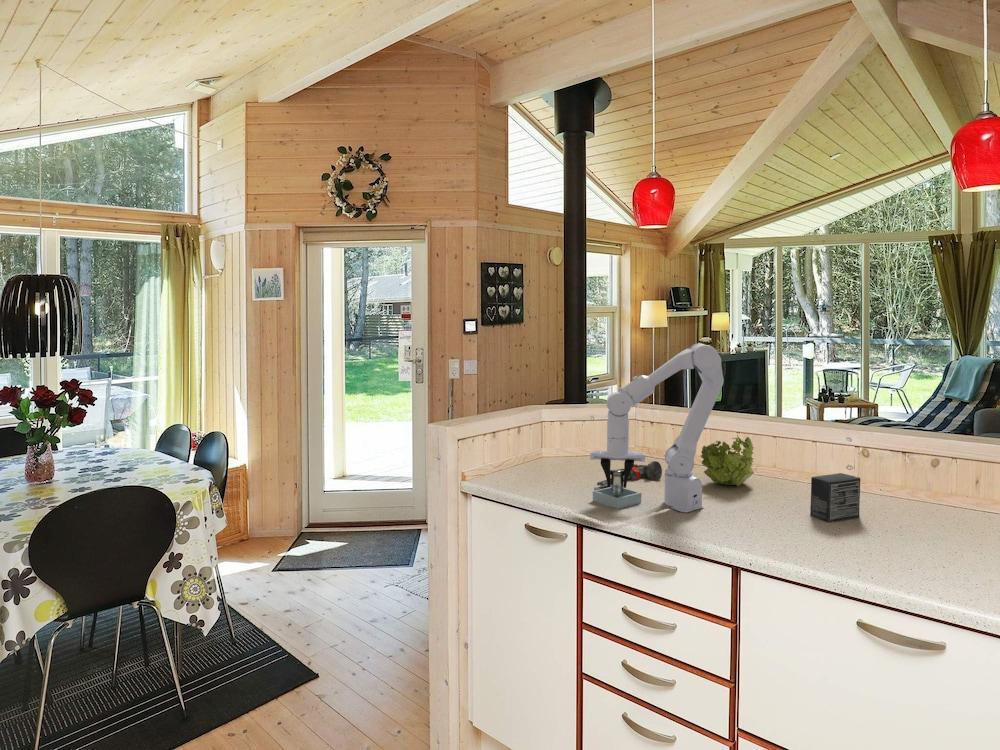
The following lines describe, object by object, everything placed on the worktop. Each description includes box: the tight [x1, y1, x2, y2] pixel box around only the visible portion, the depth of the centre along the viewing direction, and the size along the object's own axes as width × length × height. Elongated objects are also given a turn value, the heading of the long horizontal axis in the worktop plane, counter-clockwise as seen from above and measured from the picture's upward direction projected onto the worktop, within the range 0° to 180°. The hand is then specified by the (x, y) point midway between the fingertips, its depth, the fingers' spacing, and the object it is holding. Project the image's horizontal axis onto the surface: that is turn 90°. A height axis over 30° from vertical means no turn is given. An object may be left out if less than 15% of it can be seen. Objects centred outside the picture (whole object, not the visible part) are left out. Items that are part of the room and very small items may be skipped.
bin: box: [592, 487, 642, 510], centre depth 184 cm, size 9×9×4 cm
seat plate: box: [593, 485, 611, 491], centre depth 194 cm, size 6×6×2 cm
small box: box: [809, 472, 861, 523], centre depth 173 cm, size 11×6×10 cm, turn 111°
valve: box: [596, 460, 663, 486], centre depth 211 cm, size 6×26×15 cm
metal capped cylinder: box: [610, 469, 624, 494], centre depth 184 cm, size 4×4×6 cm
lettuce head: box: [700, 435, 755, 488], centre depth 205 cm, size 18×16×16 cm
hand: (617, 486), depth 184 cm, fingers closed on metal capped cylinder, 3 cm apart
